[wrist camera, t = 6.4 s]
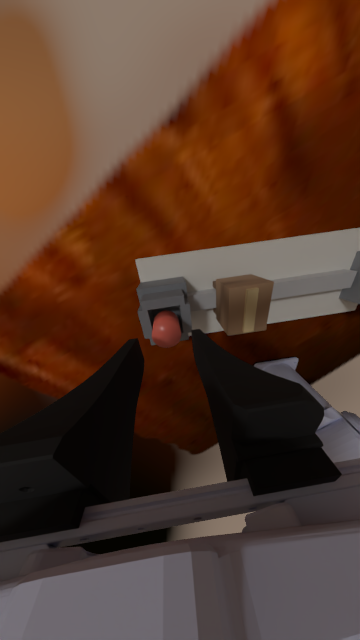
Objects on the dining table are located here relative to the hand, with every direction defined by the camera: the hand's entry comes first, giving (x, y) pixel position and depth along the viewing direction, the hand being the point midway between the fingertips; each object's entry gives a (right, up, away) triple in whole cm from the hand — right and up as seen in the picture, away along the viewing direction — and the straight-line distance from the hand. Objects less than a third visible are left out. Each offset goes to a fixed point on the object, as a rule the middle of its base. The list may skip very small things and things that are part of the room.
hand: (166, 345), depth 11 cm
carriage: (+7, +5, +8) cm, 12 cm away
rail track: (+11, +6, +9) cm, 16 cm away
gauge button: (0, +2, +3) cm, 4 cm away
